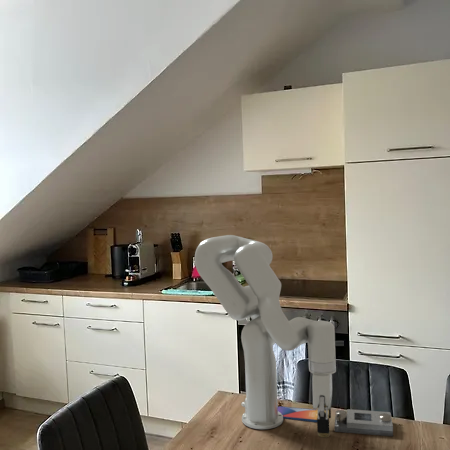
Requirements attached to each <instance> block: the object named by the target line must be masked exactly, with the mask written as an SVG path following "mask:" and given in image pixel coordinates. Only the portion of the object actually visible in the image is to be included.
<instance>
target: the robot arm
mask: <svg viewBox="0 0 450 450" xmlns="http://www.w3.org/2000/svg"><path fill="white" fill-rule="evenodd" d="M194 253H195V254H194V265H195V268H196V271H197V273H198V274H199V276H200V278H201V279H202V280H203V281H204V283H205V284H206V286H208V288H210V290H211V291H212V293H213V294H214V296H215V297H216V299H217V301H218V302H219V303H220V304H221V306H222V308H223V309H224V310H225V312H226V313H227V315H228V316H229V317H230V318H231V319H233V320H235V321H244V320H246V319H249V318H251V320H249V321H248V322H246V324H245V325H244V326H243V328H242V330H241V335H240V339H241V345H242V349H243V356H244V357H243V358H244V369H245V370H244V373H245V399H244V401H242V402H241V404H240V405H241V406H242V407H243V408H244V409H245V411H244V413H243V414H242V415H241V421H242V423H243V424H244V426H246V427H248V428H251V429H254V430H270V429H274V428H278V427H280V425H282V424H283V422H284V419H283V415H282V414H281V413H280V412H278V378H277V377H278V376H277V374H278V372H277V371H278V370H277V360H276V359H277V358H276V356H275V352H274V348H273V347H274V345H276V346H277V347H279V349H281V350H282V351H287V352H289V351H293V350H295V349H297V348H299V347H301V345H304V344H306V343H307V349H308V350H307V352H308V353H307V354H308V371H309V372H310V373H311V374H312V377H311V378H312V380H311V382H312V383H311V384H312V389H311V390H312V409H316V410H317V407H318V418H317V422H316V424H317V425H316V426H317V429H316V430H317V431H316V432H317V434H318V433H329V434H330V419H331V418H332V414H331V413H332V411H331V409H332V407H331V406H332V397H333V374H335V373H336V372H337V366H336V365H337V364H336V362H337V361H336V359H337V358H336V333H335V326H334V324H333V323H332V322H330V321H327V320H314V319H310V318H307V317H301V316H297V317H294V318H292V319H290V320H289V319H288V317H287V316H286V314H285V313H284V312H283V309H282V306H281V303H280V296H281V295H280V294H281V290H282V282H281V281H280V279H279V278H278V276H277V275H276V273H275V271H274V270H273V269H272V267H271V264H272V262H273V256H274V255H273V252H272V249H271V248H270V247H269V246H268V245H267V244H266V243H264V242H261V241H258V240H254V239H251V238H245V237H242V236H238V235H234V234H226V235H219V236H214V237H213V236H212V237H210V238H206V239H204V240H202V241H201V242H200V243H198V246H196V249H195V252H194ZM231 261H233V262H234V264H235V266H236V267H237V269H238V271H239V272H240V274H241V276H242V277H243V279H244V280H245V282H246V283H247V284H248V285H245V286H243V285H242V284H241V283H240V282H239V280H238V279H237V278H236V276H235V274H233V273H232V272H231V271H230V270H229V269H228V268H226V267H225V266H224V265H223V263H226V262H227V263H228V262H231ZM324 406H326V407H324ZM328 410H329V419H328ZM324 411H326V413H325V412H324Z"/></svg>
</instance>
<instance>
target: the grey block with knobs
mask: <svg viewBox="0 0 450 450" xmlns="http://www.w3.org/2000/svg"><path fill="white" fill-rule="evenodd" d="M334 432H337V433H348V434H359V435H371V436H382V437H383V436H384V437H394V425H393V418H392V414H391V412H390V411H381V410H379V411H377V410H362V409H352V408H351V409H349V408H348V409H346V410H342V409H340V410H336V411H335V416H334Z"/></svg>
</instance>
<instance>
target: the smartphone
mask: <svg viewBox="0 0 450 450" xmlns="http://www.w3.org/2000/svg"><path fill="white" fill-rule="evenodd" d="M278 412H280V413H281V414H282V415H283V420H284V419H285V420H293V421H303V422H312V423H317V418H318V414H317V409H313V408H303V407H302V408H301V407H292V406H284V405H283V406H282V405H281V406H278Z"/></svg>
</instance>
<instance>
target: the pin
mask: <svg viewBox="0 0 450 450" xmlns="http://www.w3.org/2000/svg"><path fill="white" fill-rule="evenodd" d="M324 407H326V406H324ZM316 410H317V414H318V407H317V409H316ZM324 412H325V413H326V411H324ZM328 419H329V420H330V418H329V410H328ZM317 436H318V437H320V438H328V437H330V432H329V433H318V432H317Z"/></svg>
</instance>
